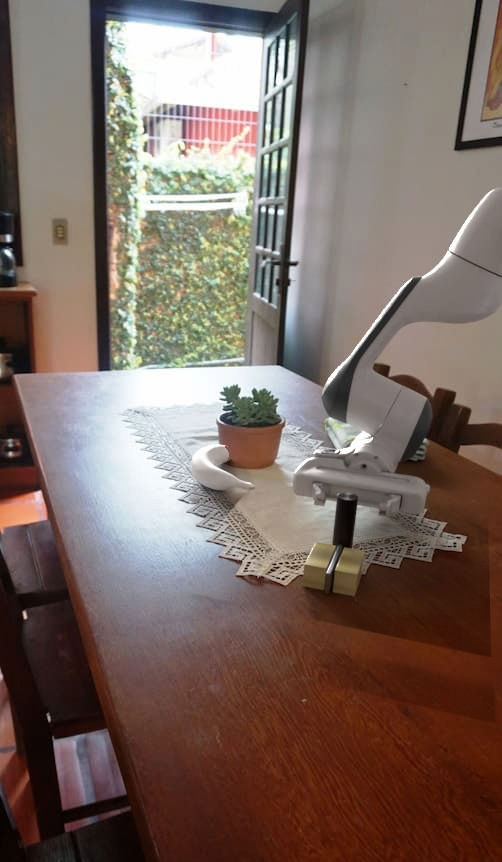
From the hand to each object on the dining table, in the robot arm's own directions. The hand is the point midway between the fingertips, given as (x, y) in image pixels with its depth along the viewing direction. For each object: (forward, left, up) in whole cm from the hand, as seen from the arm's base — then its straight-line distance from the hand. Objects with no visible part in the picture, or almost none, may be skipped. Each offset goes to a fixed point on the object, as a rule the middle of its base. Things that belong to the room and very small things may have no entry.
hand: (351, 506), depth 99 cm
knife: (-3, +9, -6) cm, 12 cm away
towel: (+21, -48, -8) cm, 53 cm away
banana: (+32, -13, -8) cm, 35 cm away
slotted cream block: (-2, +4, -8) cm, 9 cm away
